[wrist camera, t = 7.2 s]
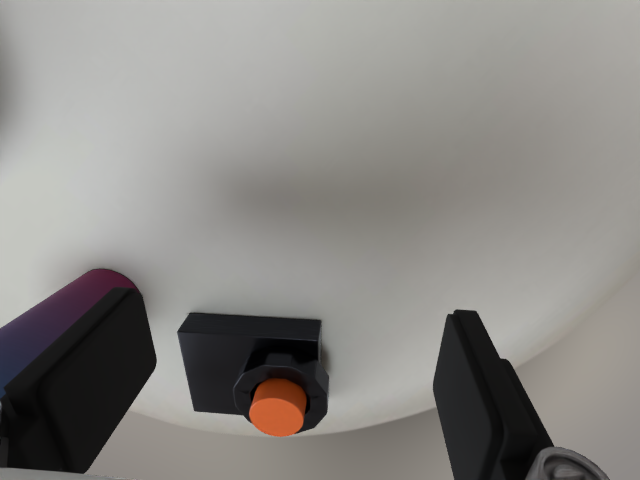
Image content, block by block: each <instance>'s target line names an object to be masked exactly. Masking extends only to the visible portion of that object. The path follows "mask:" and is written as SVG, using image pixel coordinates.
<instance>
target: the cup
mask: <svg viewBox="0 0 640 480" xmlns="http://www.w3.org/2000/svg"><path fill="white" fill-rule="evenodd" d="M114 287H128V288H135V289H136V290H137V291H138V289H137V288H136V287H135V285H134V284H133V283H132V282H131V281H130V280H129V279H127V278H126V277H124V276H123V275H121V274H119V273H117V272H114V271H111V270H106V269H96V270H91V271H89V272H87V273H85V274H84V275H82V276H81V277H79V278H77V279H76V280H74V281H73V282H71V283H70V284H68V285H67V286H65V287H64V288H62V289H60V290H59V291H57V292H56V293H54V294H53V295H51V296H50V297H48V298H47V299H45V300H43V301H42V302H40V303H39V304H37V305H36V306H34V307H33V308H31V309H30V310H28V311H26V312H25V313H23V314H22V315H20V316H19V317H17V318H16V319H14V320H13V321H11V322H9V323H8V324H6V325H5V326H3V327H2V328H0V399H1V398H2V397H3V396H4V395H5V394H6V392H5V390H4V388H3V387H4V386H6V385H7V384H8V383H9V382H10V381H11V380H12V379H13V378H14V377H15V376H17V375H18V374H19V373H20V372H21V371H22V370H23V369H24V368H25V367H26V366H28V365H29V364H30V363H31V362H32V361H33V360H34V359H35V358H36V357H37V356H39V355H40V354H41V353H42V352H43V351H44V350H45V349H46V348H47V347H48V346H50V345H51V344H52V343H53V342H54V341H55V340H56V339H57V338H58V337H59V336H60V335H62V334H63V333H64V332H65V331H66V330H67V329H68V328H69V327H70V326H71V325H73V324H74V323H75V322H76V321H77V320H78V319H79V318H80V317H81V316H82V315H84V314H85V313H86V312H87V311H88V310H89V309H90V308H91V307H92V306H93V305H95V304H96V303H97V302H98V301H99V300H100V299H101V298H102V297H103V296H104V295H106V294H107V293H108V292H109V291H110V290H111V289H112V288H114ZM138 293H139V291H138Z"/></svg>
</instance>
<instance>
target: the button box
mask: <svg viewBox="0 0 640 480" xmlns="http://www.w3.org/2000/svg"><path fill="white" fill-rule="evenodd" d="M177 333H178V338H179V343H180V347H181V352H182V357H183V361H184V366H185V371H186V375H187V380H188V385H189V390H190V394H191V399H192V404H193V408H194V411H197V412H209V413H222V414H234V415H244V417H245V418H246V419H247V420H248V421H249V422H250V423H252V422H251V420H250V416H249V412H250V408H251V405H252V401H253V398H254V395H255V392H256V389H257V387H258V386H259V384H261V383H262V382H263V381H265V380H267V379H271V378H276V379H287V380H289V381H291V382H293V383H295V384H297V385H299V386H300V387H301V388H302V389H303V390H304V392H305V394H306V398H307V402H306V408H305V415H304V422H303V425H302V427H301V428H300V430H299V431H297V432H296V433H300V432H303V431H306V430H309V429H312V428H314V427H316V425H317V424H318V423H319V422H320V421H321V420H322V419H323V418H324V416H325V415H326V414H327V410H328V399H329V376H328V374H327V373H326V371H325V370H324V368H323V367H322V366H321V320H305V319H287V318H270V317H252V316H234V315H217V314H199V313H189V315H188V316H187V318H186V319H185V321H184V322H183V324H182V325H181V327H180V328H179V330H178V331H177ZM252 424H253V423H252ZM296 433H294V434H296Z"/></svg>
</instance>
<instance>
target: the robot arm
mask: <svg viewBox="0 0 640 480" xmlns="http://www.w3.org/2000/svg"><path fill="white" fill-rule="evenodd" d="M156 362H157V359H156V354H155V349H154V345H153V340H152V336H151V332H150V327H149V323H148V318H147V314H146V309H145V305H144V301H143V297H142V295H141V293H138V291H137V290H136V289H135V288H128V287H114V288H112V289H111V290H110V291H109V292H108V293H107V294H106V295H104V296H103V297H102V298H101V299H100V300H99V301H98V302H97V303H96V304H95V305H93V306H92V307H91V308H90V309H89V310H88V311H87V312H86V313H85V314H84V315H82V316H81V317H80V318H79V319H78V320H77V321H76V322H75V323H74V324H73V325H71V326H70V327H69V328H68V329H67V330H66V331H65V332H64V333H63V334H62V335H60V336H59V337H58V338H57V339H56V340H55V341H54V342H53V343H52V344H51V345H50V346H48V347H47V348H46V349H45V350H44V351H43V352H42V353H41V354H40V355H39V356H37V357H36V358H35V359H34V360H33V361H32V362H31V363H30V364H29V365H28V366H26V367H25V368H24V369H23V370H22V371H21V372H20V373H19V374H18V375H17V376H15V377H14V378H13V379H12V380H11V381H10V382H9V383H8V384H7V385H6V386H4V387H3V388H4V390H5V392H6V394H5V395H4V396H3V397H2V398H1V399H0V480H138V479H127V478H118V477H107V476H97V475H88V474H84V473H85V472H86V471H87V470H88V469H89V468H90V466H91V465H92V463H93V461H94V460H95V459H96V457H97V456H98V454H99V453H100V451H101V450H102V448H103V446H104V445H105V444H106V442H107V440H108V439H109V437H110V436H111V434H112V433H113V431H114V430H115V428H116V427H117V425H118V424H119V422H120V421H121V419H122V418H123V416H124V415H125V413H126V412H127V410H128V409H129V407H130V406H131V404H132V403H133V401H134V400H135V398H136V397H137V395H138V394H139V392H140V391H141V389H142V388H143V386H144V385H145V383H146V382H147V380H148V379H149V377H150V376H151V374H152V373H153V371H154V369H155V367H156ZM433 392H434V397H435V401H436V405H437V409H438V413H439V417H440V422H441V426H442V430H443V434H444V438H445V443H446V447H447V451H448V455H449V459H450V463H451V468H452V472H453V476H454V480H610V479H609V478H608V476H607V475H606V474H605V473H604V472H603V471H602V470H601V469H600V468H599V467H598V466H597V465H596V464H594V463H593V462H592V461H590V460H589V459H587V458H586V457H585V456H583V455H581V454H579V453H577V452H575V451H572V450H569V449H565V448H562V447H554V445H553V443H552V441H551V439H550V437H549V435H548V434H547V431H546V429H545V428H544V426H543V424H542V422H541V420H540V418H539V416H538V414H537V412H536V411H535V409H534V407H533V405H532V403H531V401H530V399H529V397H528V395H527V393H526V391H525V390H524V388H523V386H522V384H521V382H520V380H519V378H518V376H517V374H516V372H515V370H514V369H513V367H512V365H511V364H510V362H509V361H508V360H506V359H500V357H499V355H498V353H497V351H496V349H495V347H494V345H493V343H492V341H491V339H490V337H489V335H488V333H487V331H486V329H485V327H484V325H483V323H482V321H481V319H480V317H479V315H478V313H477V312H476V311H471V310H455V311H454V313H453V314H448V315H447V318H446V323H445V328H444V332H443V337H442V342H441V347H440V352H439V356H438V361H437V366H436V371H435V376H434V381H433Z"/></svg>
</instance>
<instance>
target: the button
mask: <svg viewBox="0 0 640 480" xmlns="http://www.w3.org/2000/svg"><path fill="white" fill-rule="evenodd" d="M306 402H307V398H306V394H305V392H304V390H303V389H302V388H301V387H300V386H299V385H297V384H295V383H293V382H291V381H289V380H287V379H276V378H271V379H267V380H265V381H263V382H262V383H261V384H259V386H258V387H257V389H256V392H255V395H254V398H253V401H252V405H251V408H250V412H249V416H250V420H251V422H252V423H253V425H254V426H255V427H256V428H257V429H259V430H260V431H262V432H264V433H266V434H269V435H272V436H280V437H282V436H289V435H292V434H294V433H296V432H297V431H299V430H300V428H301V427H302V425H303V422H304V415H305V408H306Z"/></svg>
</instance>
